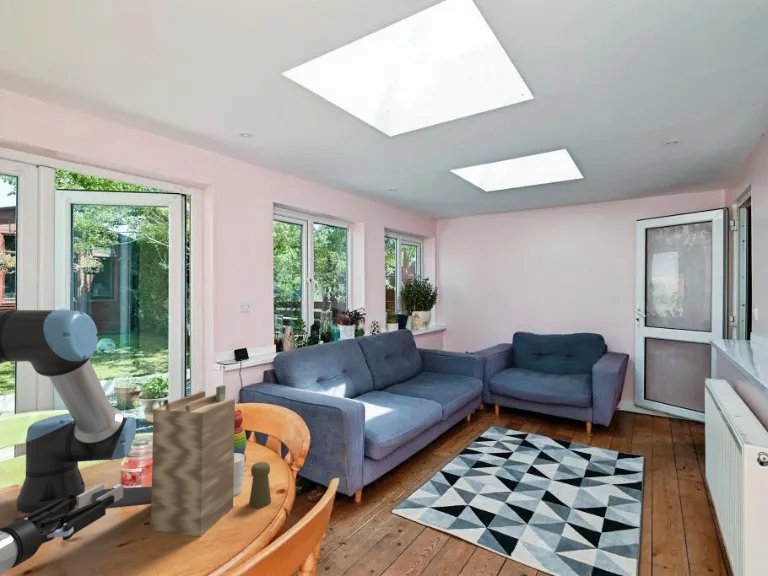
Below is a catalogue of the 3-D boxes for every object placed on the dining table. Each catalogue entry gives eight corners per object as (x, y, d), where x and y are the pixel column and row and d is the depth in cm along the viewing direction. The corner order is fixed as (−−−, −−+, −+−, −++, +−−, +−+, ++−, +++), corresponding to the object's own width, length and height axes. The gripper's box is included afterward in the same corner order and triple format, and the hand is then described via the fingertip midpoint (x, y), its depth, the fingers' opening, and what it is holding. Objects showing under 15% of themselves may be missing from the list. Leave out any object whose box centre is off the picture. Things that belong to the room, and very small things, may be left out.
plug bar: (92, 510, 93) (92, 493, 94) (163, 502, 114) (162, 489, 116) (105, 505, 92) (106, 488, 94) (174, 498, 114) (173, 485, 115)
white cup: (234, 499, 116) (235, 464, 116) (210, 496, 118) (210, 462, 118) (249, 486, 124) (249, 454, 124) (225, 484, 126) (226, 451, 126)
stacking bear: (236, 453, 150) (237, 405, 151) (253, 459, 144) (254, 409, 145) (209, 462, 141) (210, 411, 142) (226, 470, 135) (227, 417, 136)
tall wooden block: (151, 529, 101) (153, 393, 102) (188, 501, 115) (190, 381, 115) (200, 536, 98) (203, 396, 99) (233, 507, 112) (235, 384, 113)
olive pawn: (259, 510, 110) (259, 469, 111) (244, 504, 114) (245, 464, 114) (275, 500, 116) (276, 462, 116) (261, 495, 119) (261, 457, 119)
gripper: (-35, 564, 76) (81, 502, 98) (41, 577, 72) (143, 510, 95) (-34, 523, 76) (82, 471, 99) (42, 535, 72) (144, 478, 95)
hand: (112, 490), depth 97 cm, fingers closed on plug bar, 5 cm apart
